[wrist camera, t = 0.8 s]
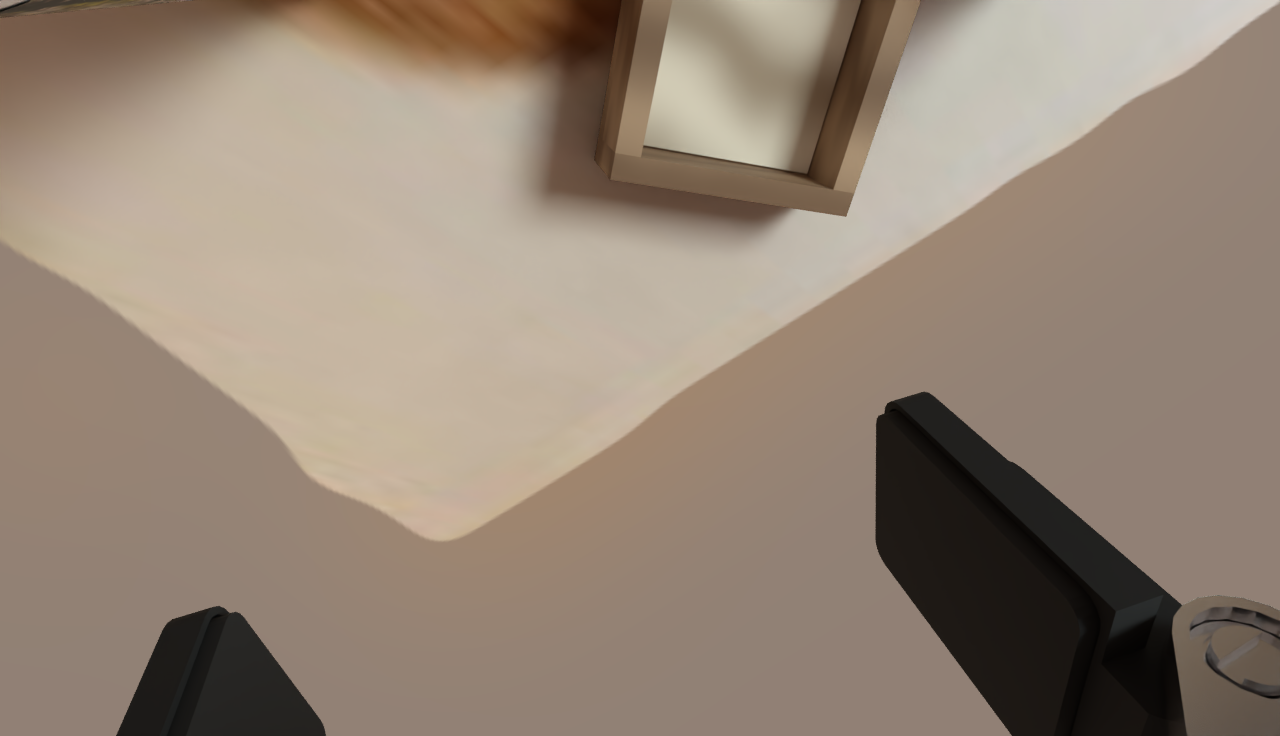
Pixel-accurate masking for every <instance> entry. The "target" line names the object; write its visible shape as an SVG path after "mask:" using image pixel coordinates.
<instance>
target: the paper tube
mask: <svg viewBox="0 0 1280 736" xmlns="http://www.w3.org/2000/svg"><path fill="white" fill-rule="evenodd" d="M180 1H191V0H0V18H2V17H13V16H24V15H35V14H46V13H58V12H69V11H80V10H91V9H102V8H113V7H124V6H135V5H146V4H157V3H169V2H180Z"/></svg>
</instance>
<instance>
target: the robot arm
mask: <svg viewBox="0 0 1280 736" xmlns="http://www.w3.org/2000/svg"><path fill="white" fill-rule="evenodd" d="M876 545H877V549H878V552H879V554H880V557H881V558H882V560H883V562H884V563H885V565H886V566H887V568H888V569H889V570H890V572H891V573H892V574H893V576H894V577H895V579H896V580H897V581H898V583H899V584H900V585H901V587H902V588H903V589H904V591H905V592H906V593H907V595H908V596H909V597H910V599H911V600H912V601H913V603H914V604H915V605H916V607H917V608H918V610H919V611H920V612H921V614H922V615H923V616H924V618H925V619H926V620H927V622H928V623H929V624H930V625H931V627H932V628H933V630H934V631H935V632H936V634H937V635H938V636H939V638H940V639H941V641H942V642H943V643H944V644H945V646H946V647H947V649H948V650H949V651H950V653H951V654H952V655H953V657H954V658H955V659H956V661H957V662H958V663H959V665H960V666H961V667H962V669H963V670H964V672H965V673H966V674H967V676H968V677H969V678H970V680H971V681H972V682H973V684H974V685H975V686H976V688H977V689H978V690H979V692H980V693H981V694H982V696H983V697H984V698H985V700H986V701H987V702H988V704H989V705H990V707H991V708H992V709H993V711H994V712H995V713H996V715H997V716H998V717H999V719H1000V720H1001V721H1002V723H1003V724H1004V725H1005V727H1006V728H1007V729H1008V731H1009V732H1010V734H1011V735H1012V736H1280V610H1277V609H1275V608H1273V607H1271V606H1269V605H1265V604H1262V603H1259V602H1255V601H1252V600H1248V599H1245V598H1239V597H1230V596H1220V595H1217V596H1208V597H1200V598H1196V599H1194V600H1192V601H1190V602H1188V603H1186V604H1184V605H1181V604H1180V603H1179V602H1178V601H1177V600H1175V599H1174V598H1173V597H1172V596H1171V595H1170V594H1168V593H1167V592H1166V591H1165V590H1164V589H1162V588H1161V587H1160V586H1159V585H1158V584H1157V583H1156V582H1154V581H1153V580H1152V579H1151V578H1150V577H1149V576H1147V575H1146V574H1145V573H1144V572H1142V571H1141V570H1140V569H1139V568H1138V567H1137V566H1136V565H1134V564H1133V563H1132V562H1131V561H1130V560H1129V559H1128V558H1126V557H1125V556H1124V555H1123V554H1122V553H1121V552H1119V551H1118V550H1117V549H1116V548H1115V547H1114V546H1112V545H1111V544H1110V543H1109V542H1108V541H1107V540H1105V539H1104V538H1103V537H1102V536H1101V535H1099V534H1098V533H1097V532H1096V531H1095V530H1094V529H1093V528H1091V527H1090V526H1089V525H1088V524H1087V523H1086V522H1084V521H1083V520H1082V519H1081V518H1080V517H1079V516H1077V515H1076V514H1075V513H1074V512H1073V511H1071V510H1070V509H1069V508H1068V507H1067V506H1066V505H1064V504H1063V503H1062V502H1061V501H1060V500H1059V499H1057V498H1056V497H1055V496H1054V495H1053V494H1052V493H1051V492H1049V491H1048V490H1047V489H1046V488H1045V487H1044V486H1042V485H1041V484H1040V483H1039V482H1037V481H1036V480H1035V479H1034V478H1033V477H1032V476H1031V475H1030V474H1028V473H1027V472H1026V471H1025V470H1024V469H1022V468H1021V467H1019V466H1018V465H1016V464H1015V463H1013V462H1010V461H1008V460H1007V459H1006V458H1005V457H1003V456H1002V455H1001V454H1000V453H999V452H998V451H996V450H995V449H994V448H993V447H992V446H991V445H989V444H988V443H987V442H986V441H985V440H983V439H982V438H981V437H980V436H979V435H978V434H977V433H976V432H975V431H973V430H972V429H971V428H970V427H968V425H966V424H965V423H964V422H963V421H962V420H960V418H958V417H957V416H956V415H955V414H954V413H953V412H951V411H950V410H949V409H948V408H947V407H946V406H944V405H943V404H942V403H941V402H940V401H939V400H937V399H936V398H935V397H934V396H933V395H931V394H930V393H927V392H921V393H918V394H915V395H911V396H908V397H905V398H901V399H898V400H895V401H891V402H889V403H887V405H886V407H885V413H884V414H882V415H880V416H878V418H877V423H876ZM116 736H326V734H325V729H324V726H323V724H322V722H321V720H320V719H319V717H318V716H317V715H316V713H315V712H314V711H313V709H312V708H311V707H310V705H309V704H308V703H307V701H306V700H305V699H304V697H303V696H302V695H301V693H300V692H299V691H298V689H297V688H296V687H295V686H294V684H293V683H292V681H291V680H290V679H289V677H288V676H287V674H286V673H285V672H284V670H283V669H282V668H281V666H280V665H279V664H278V662H277V661H276V660H275V658H274V657H273V656H272V655H271V653H270V652H269V650H268V649H267V648H266V646H265V645H264V644H263V642H262V641H261V640H260V638H259V637H258V636H257V634H256V633H255V632H254V630H253V629H252V628H251V626H250V625H249V624H248V623H247V621H246V620H245V618H244V617H243V616H242V615H241V614H240V613H237V612H234V613H229V612H228V611H227V610H226V609H225V608H222V607H220V606H216V607H212V608H208V609H205V610H202V611H198V612H195V613H192V614H189V615H185V616H182V617H179V618H175V619H172V620H171V621H170V622H168V623H167V624H166V626H165V627H164V629H163V631H162V633H161V635H160V637H159V640H158V642H157V644H156V646H155V649H154V651H153V653H152V655H151V658H150V660H149V662H148V665H147V667H146V669H145V671H144V674H143V676H142V678H141V681H140V683H139V685H138V687H137V690H136V692H135V694H134V697H133V699H132V701H131V703H130V706H129V708H128V710H127V713H126V715H125V717H124V720H123V722H122V724H121V726H120V728H119V731H118V733H117V735H116Z"/></svg>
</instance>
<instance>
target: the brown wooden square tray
mask: <svg viewBox="0 0 1280 736" xmlns="http://www.w3.org/2000/svg"><path fill="white" fill-rule="evenodd" d="M920 1H921V0H622V2H621V8H620V14H619V20H618V25H617V31H616V37H615V43H614V49H613V54H612V60H611V66H610V72H609V78H608V84H607V89H606V95H605V101H604V107H603V113H602V119H601V124H600V130H599V136H598V142H597V148H596V153H595V159H594V160H595V161H596V163H597V164H598V165H599V166H600V168H601V169H602V170H603V171H604V173H605V174H606V175H607V176H608V178H609V179H610V180H614V181H621V182H627V183H634V184H640V185H646V186H653V187H659V188H666V189H672V190H678V191H685V192H691V193H698V194H704V195H711V196H717V197H723V198H730V199H736V200H743V201H749V202H755V203H762V204H768V205H775V206H781V207H787V208H794V209H800V210H807V211H813V212H820V213H826V214H832V215H839V216H845V217H846V216H847V213H848V210H849V207H850V204H851V201H852V198H853V195H854V192H855V190H856V187H857V184H858V181H859V178H860V175H861V172H862V169H863V166H864V164H865V161H866V158H867V155H868V152H869V149H870V146H871V143H872V140H873V137H874V135H875V132H876V129H877V126H878V123H879V120H880V117H881V114H882V111H883V109H884V106H885V103H886V100H887V97H888V94H889V91H890V88H891V85H892V82H893V80H894V77H895V74H896V71H897V68H898V65H899V62H900V59H901V56H902V54H903V51H904V48H905V45H906V42H907V39H908V36H909V33H910V30H911V27H912V25H913V22H914V19H915V16H916V13H917V10H918V7H919V4H920Z"/></svg>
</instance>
